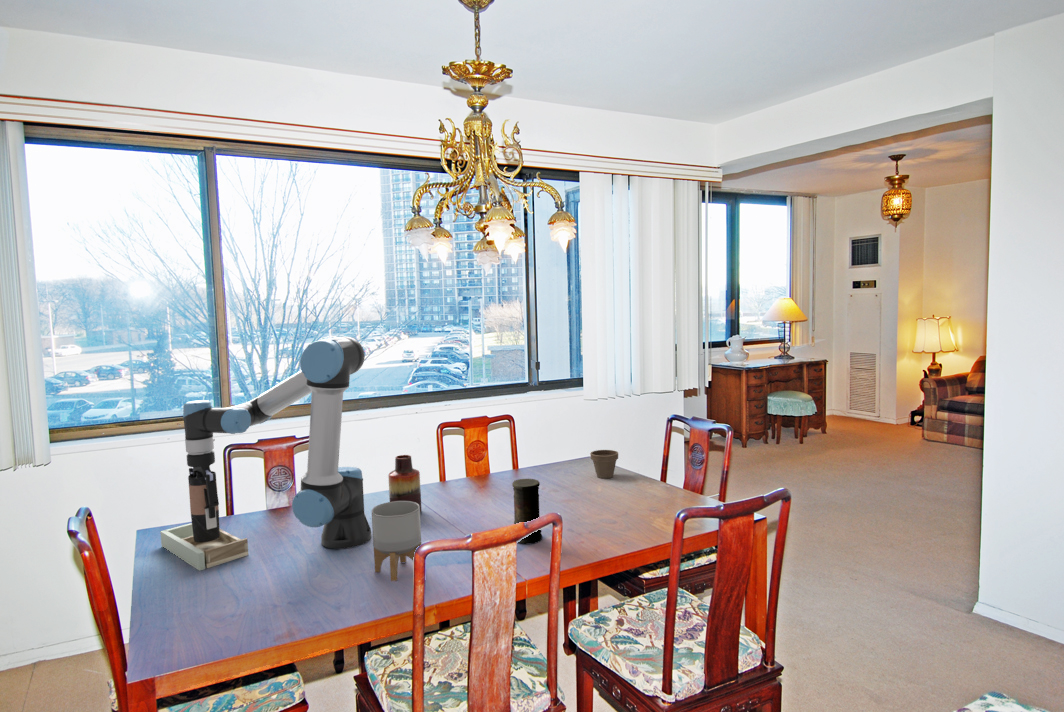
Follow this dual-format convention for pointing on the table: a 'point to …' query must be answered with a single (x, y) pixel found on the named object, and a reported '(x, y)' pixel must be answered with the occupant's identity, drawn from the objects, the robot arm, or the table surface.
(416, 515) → the planter
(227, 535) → the tray
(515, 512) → the container
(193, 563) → the bay
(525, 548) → the table surface
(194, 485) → the travel mug
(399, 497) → the vase
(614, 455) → the flower pot
